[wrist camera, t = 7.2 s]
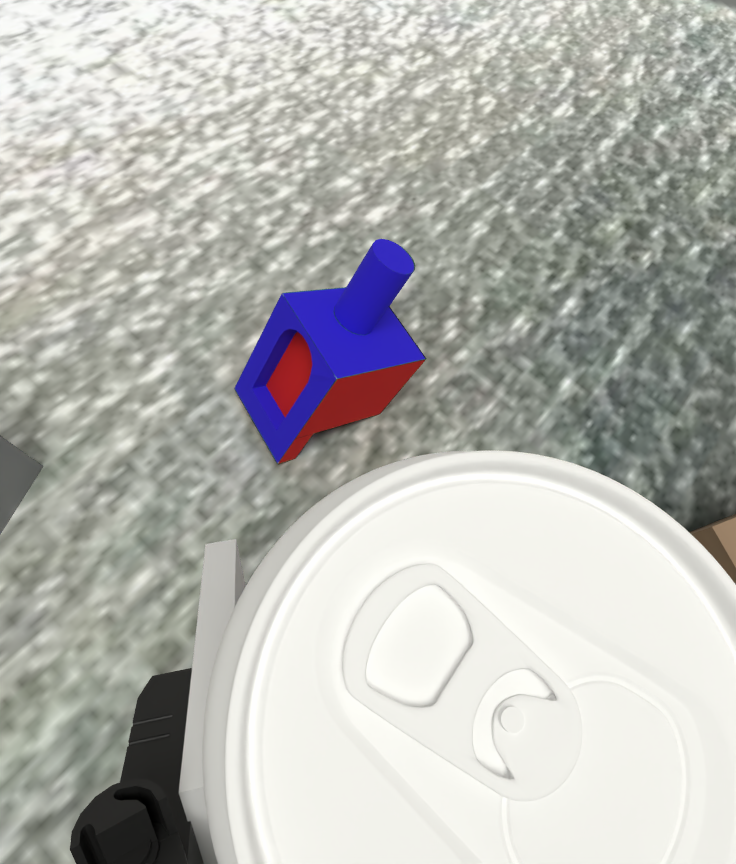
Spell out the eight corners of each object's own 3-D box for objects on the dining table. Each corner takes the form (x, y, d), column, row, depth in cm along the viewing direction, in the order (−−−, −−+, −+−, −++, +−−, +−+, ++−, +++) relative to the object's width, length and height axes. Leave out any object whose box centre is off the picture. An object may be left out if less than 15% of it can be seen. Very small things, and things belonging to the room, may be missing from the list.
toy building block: (360, 437, 24) (472, 303, 18) (277, 464, 21) (379, 316, 16) (318, 371, 25) (412, 225, 19) (233, 388, 22) (315, 224, 17)
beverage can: (426, 912, 16) (690, 1490, 5) (207, 718, 17) (16, 816, 6) (566, 661, 19) (936, 657, 8) (369, 511, 20) (439, 320, 9)
